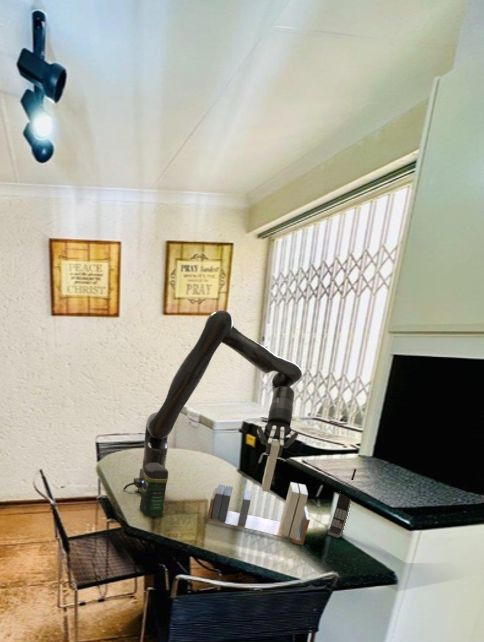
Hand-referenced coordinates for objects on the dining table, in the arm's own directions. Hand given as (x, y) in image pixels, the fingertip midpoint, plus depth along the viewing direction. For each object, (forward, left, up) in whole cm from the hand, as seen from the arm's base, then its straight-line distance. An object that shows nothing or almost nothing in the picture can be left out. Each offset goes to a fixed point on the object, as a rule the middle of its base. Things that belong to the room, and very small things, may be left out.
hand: (273, 455), depth 129 cm
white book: (+1, +2, -12) cm, 12 cm away
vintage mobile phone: (+28, -9, -28) cm, 40 cm away
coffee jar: (-32, +19, -28) cm, 47 cm away
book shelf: (+1, +2, -28) cm, 28 cm away
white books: (+9, -5, -26) cm, 28 cm away
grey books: (-6, +8, -26) cm, 28 cm away
